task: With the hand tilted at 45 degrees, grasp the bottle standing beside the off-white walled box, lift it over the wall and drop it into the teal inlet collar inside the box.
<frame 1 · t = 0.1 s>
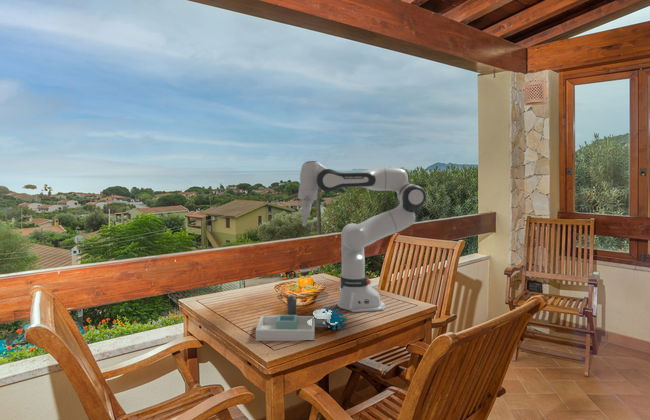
hand: (304, 224, 193), 39 cm above the table, tool pointing down, fingers open, 8 cm apart
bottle: (291, 317, 179), on the table
walled box: (286, 332, 162), on the table
gear: (334, 328, 168), on the table
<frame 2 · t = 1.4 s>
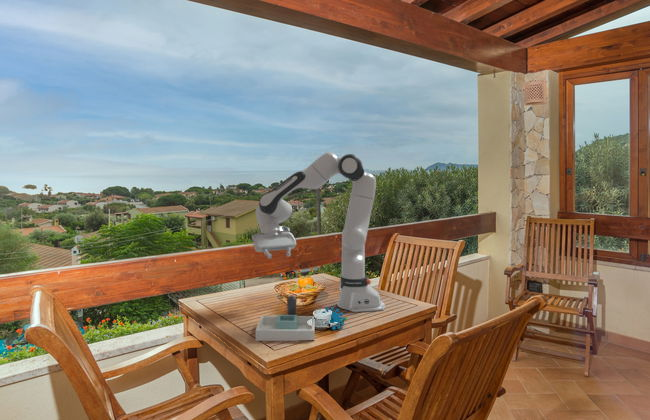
hand: (279, 256, 188), 25 cm above the table, tool tilted 45°, fingers open, 8 cm apart
nothing on the table moved.
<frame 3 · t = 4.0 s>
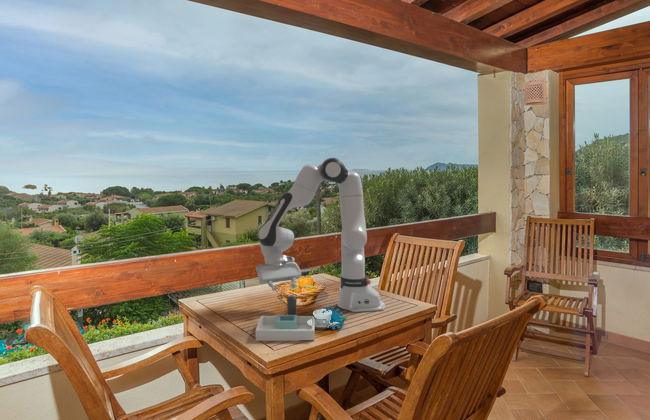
hand: (284, 288, 184), 11 cm above the table, tool tilted 45°, fingers open, 8 cm apart
nothing on the table moved.
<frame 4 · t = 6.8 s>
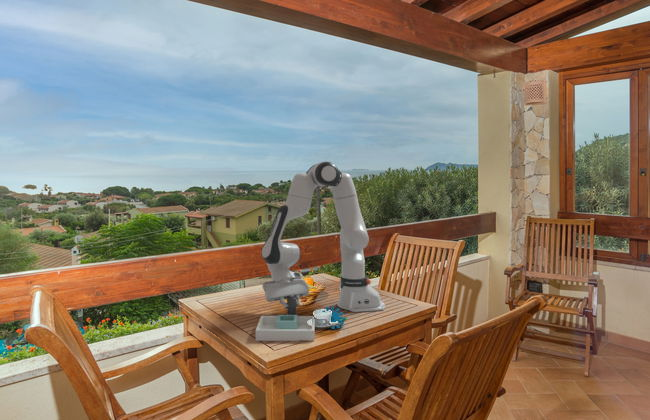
hand: (292, 306, 178), 5 cm above the table, tool tilted 45°, fingers closed on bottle, 4 cm apart
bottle: (291, 317, 179), on the table, touching gripper
everything else where it was.
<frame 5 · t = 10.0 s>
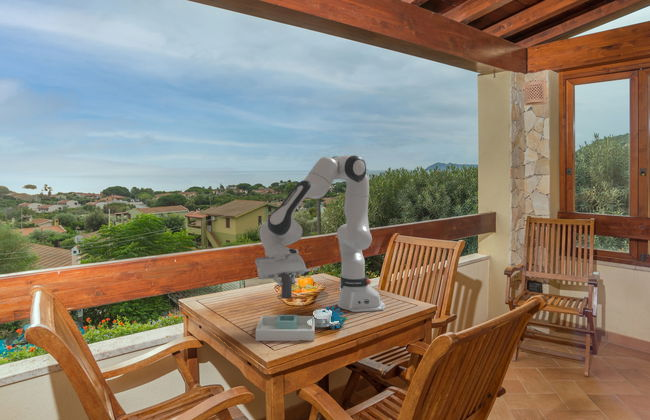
hand: (287, 284, 163), 19 cm above the table, tool tilted 45°, fingers closed on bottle, 4 cm apart
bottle: (286, 297, 164), point 13 cm above the table, touching gripper
when the fingers open (8 cm above the table, at t = 13.4 s): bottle drops 1 cm, resting on walled box.
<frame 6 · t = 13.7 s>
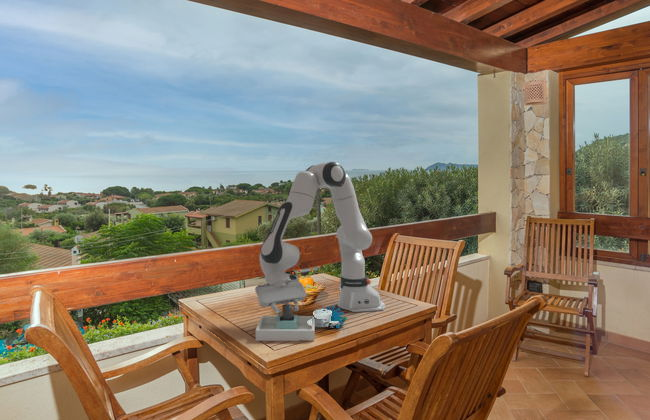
hand: (287, 312, 163), 8 cm above the table, tool tilted 45°, fingers open, 6 cm apart
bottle: (287, 327, 165), point 1 cm above the table, touching walled box
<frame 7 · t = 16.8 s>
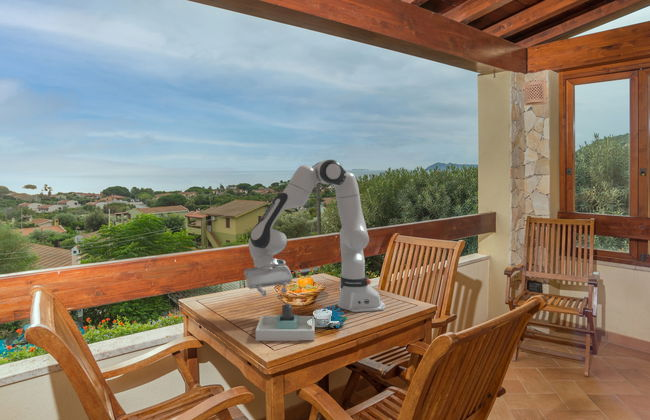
hand: (274, 293, 174), 12 cm above the table, tool tilted 45°, fingers open, 8 cm apart
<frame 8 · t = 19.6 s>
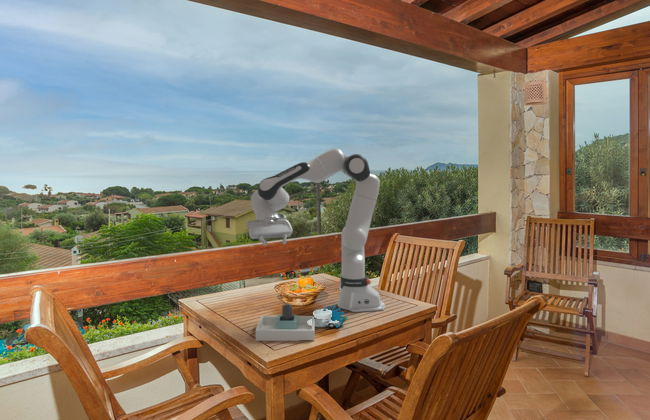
hand: (275, 244, 183), 31 cm above the table, tool tilted 45°, fingers open, 8 cm apart
at the end: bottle 0.1 cm from the target spot on the walled box, point 1.0 cm above the walled box's base; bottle tilted 0°; the gripper is holding nothing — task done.
